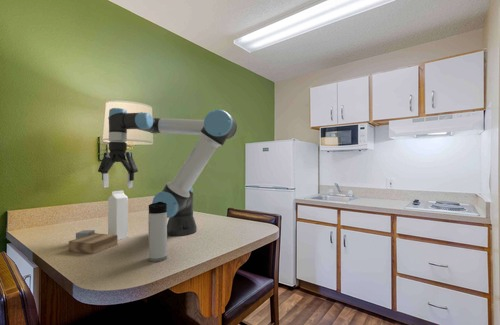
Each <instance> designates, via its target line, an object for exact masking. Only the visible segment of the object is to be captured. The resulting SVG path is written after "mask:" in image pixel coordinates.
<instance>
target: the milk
mask: <svg viewBox="0 0 500 325" xmlns="http://www.w3.org/2000/svg"><path fill="white" fill-rule="evenodd" d="M107 234H110V235H117V241H119V240H120V241H121V240H123V239H126V238H129V197H128V195H127V194H125V191H124V190H123V189H122V190H113V191H112V192H111V195H110V196H108V198H107Z"/></svg>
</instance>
